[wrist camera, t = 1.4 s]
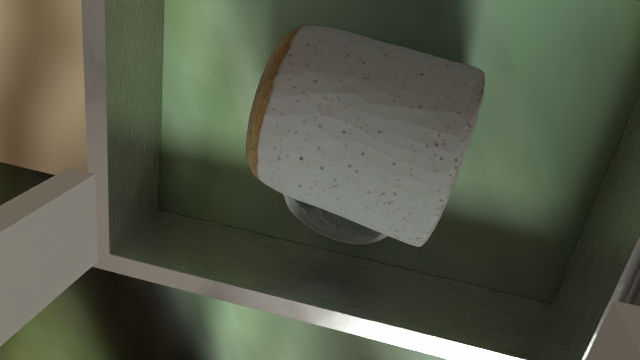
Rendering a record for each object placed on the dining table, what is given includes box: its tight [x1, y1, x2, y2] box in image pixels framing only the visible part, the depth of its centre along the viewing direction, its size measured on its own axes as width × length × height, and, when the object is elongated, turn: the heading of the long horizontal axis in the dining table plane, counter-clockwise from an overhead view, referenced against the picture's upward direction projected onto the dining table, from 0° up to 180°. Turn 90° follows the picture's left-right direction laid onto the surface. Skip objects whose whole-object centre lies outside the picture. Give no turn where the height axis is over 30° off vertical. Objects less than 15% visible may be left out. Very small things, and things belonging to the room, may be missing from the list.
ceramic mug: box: [246, 25, 485, 247], centre depth 22 cm, size 11×8×8 cm
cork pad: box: [0, 0, 88, 175], centre depth 27 cm, size 12×13×1 cm
